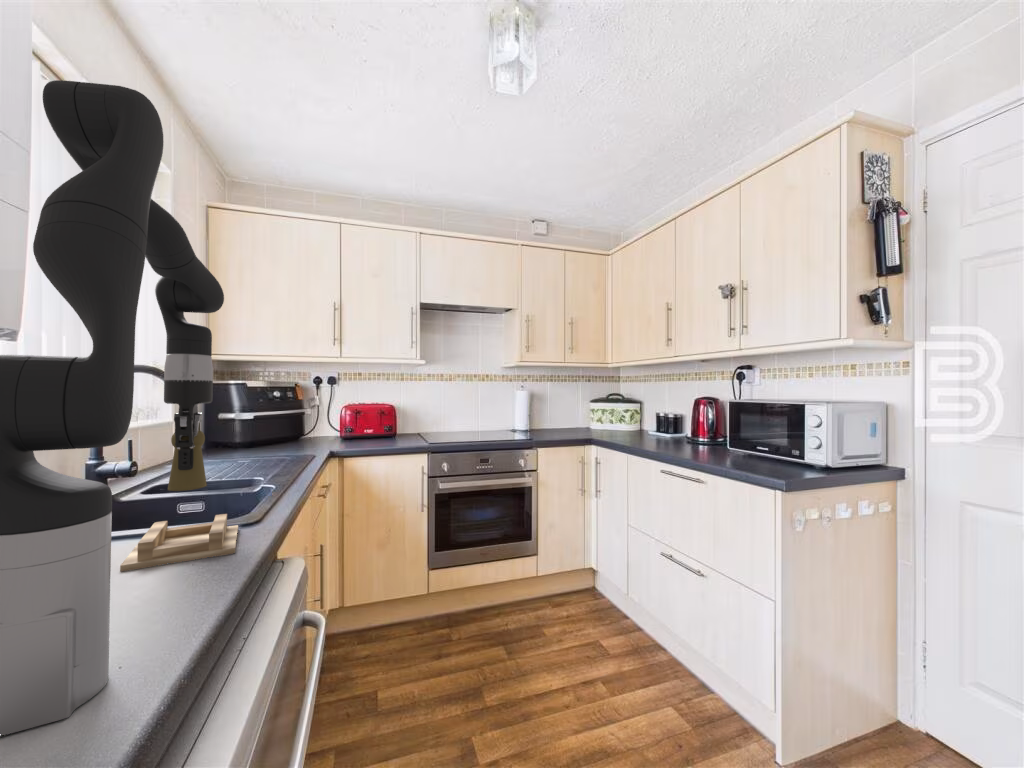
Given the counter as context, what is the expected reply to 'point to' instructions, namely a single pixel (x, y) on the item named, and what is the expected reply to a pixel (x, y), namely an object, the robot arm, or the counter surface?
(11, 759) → the counter surface
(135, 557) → the cradle
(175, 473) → the olive pepper mill
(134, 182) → the robot arm
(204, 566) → the counter surface
